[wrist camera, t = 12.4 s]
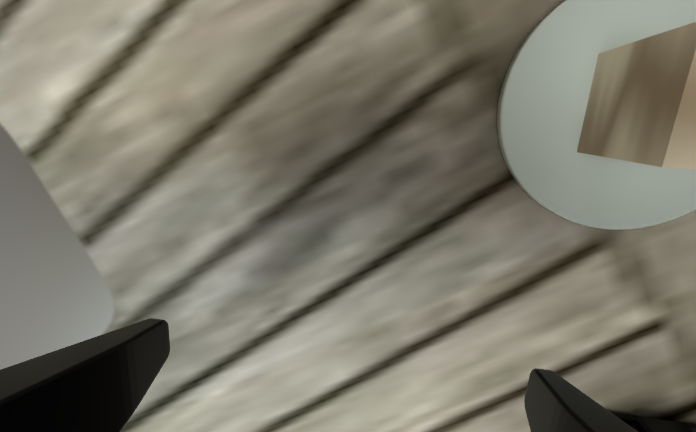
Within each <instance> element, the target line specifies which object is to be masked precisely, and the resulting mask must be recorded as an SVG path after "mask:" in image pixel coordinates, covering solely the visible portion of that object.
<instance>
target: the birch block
mask: <svg viewBox="0 0 696 432" xmlns="http://www.w3.org/2000/svg"><path fill="white" fill-rule="evenodd" d="M577 152H579V153H584V154H590V155H596V156H601V157H607V158H613V159H618V160H624V161H629V162H635V163H641V164H646V165H652V166H658V167H665V168H679V169H694V170H696V22H693V23H690V24H687V25H684V26H681V27H678V28H675V29H672V30H669V31H666V32H663V33H660V34H657V35H653V36H650V37H647V38H644V39H641V40H638V41H635V42H632V43H629V44H626V45H623V46H620V47H617V48H614V49H611V50H608V51H605V52H602V53H599V54H598V58H597V63H596V67H595V72H594V76H593V81H592V85H591V90H590V94H589V99H588V103H587V108H586V112H585V117H584V121H583V126H582V130H581V135H580V139H579V144H578V149H577Z"/></svg>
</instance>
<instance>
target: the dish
mask: <svg viewBox="0 0 696 432" xmlns="http://www.w3.org/2000/svg"><path fill="white" fill-rule="evenodd" d="M693 22H696V0H565V1H564V2H563V3H562V4H560V5H559V6H558V7H556V8H555V9H554V10H552V11H551V12H550V13H549V14H548V15H547V16H546V17H545V18H544V19H543V20H542V21H541V22H540V23H538V24H537V26H536V27H535V28H534V29H533V30H532V32H531V33H530V34H529V35H528V36H527V38H526V39H525V40H524V42H523V43H522V45H521V46H520V48H519V49H518V51H517V52H516V54H515V56H514V58H513V60H512V62H511V64H510V66H509V68H508V70H507V73H506V75H505V78H504V81H503V84H502V87H501V92H500V96H499V100H498V109H497V133H498V139H499V145H500V149H501V152H502V155H503V158H504V161H505V163H506V165H507V167H508V169H509V171H510V173H511V175H512V176H513V178H514V179H515V180H516V182H517V183H518V185H519V186H520V187H521V188H522V189H523V190H524V191H525V192H526V193H527V194H528V195H529V196H530V197H531V198H532V199H534V200H535V201H536V202H537V203H539V204H540V205H542V206H544V207H545V208H547V209H549V210H550V211H552V212H554V213H555V214H557V215H559V216H560V217H563V218H565V219H567V220H570V221H572V222H574V223H578V224H582V225H585V226H589V227H594V228H601V229H616V230H624V229H636V228H643V227H648V226H653V225H658V224H661V223H664V222H667V221H671V220H674V219H676V218H678V217H681V216H683V215H685V214H688V213H690V212H692V211H694V210H696V170H694V169H679V168H665V167H658V166H652V165H646V164H641V163H635V162H629V161H624V160H618V159H613V158H607V157H601V156H596V155H590V154H584V153H579V152H577V149H578V144H579V139H580V135H581V130H582V126H583V121H584V117H585V112H586V108H587V103H588V99H589V94H590V90H591V85H592V81H593V76H594V72H595V67H596V63H597V58H598V54H599V53H602V52H605V51H608V50H611V49H614V48H617V47H620V46H623V45H626V44H629V43H632V42H635V41H638V40H641V39H644V38H647V37H650V36H653V35H657V34H660V33H663V32H666V31H669V30H672V29H675V28H678V27H681V26H684V25H687V24H690V23H693Z"/></svg>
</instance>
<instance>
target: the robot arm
mask: <svg viewBox="0 0 696 432" xmlns="http://www.w3.org/2000/svg"><path fill="white" fill-rule="evenodd" d="M169 352H170V341H169V328H168V323H167V322H166V321H165V320H160V319H152V318H151V319H147V320H144V321H141V322H138V323H135V324H132V325H129V326H126V327H123V328H121V329H118V330H115V331H112V332H109V333H106V334H103V335H100V336H97V337H94V338H91V339H89V340H86V341H83V342H80V343H77V344H74V345H71V346H68V347H65V348H63V349H59V350H57V351H54V352H51V353H48V354H45V355H42V356H39V357H36V358H33V359H30V360H27V361H25V362H22V363H19V364H16V365H13V366H10V367H7V368H4V369H1V370H0V432H120V431H121V429H122V428H123V426H124V425H125V424H126V422H127V421H128V420H129V418H130V417H131V415H132V414H133V413H134V411H135V410H136V408H137V407H138V405H139V403H140V402H141V400H142V399H143V397H144V395H145V394H146V392H147V390H148V389H149V387H150V386H151V384H152V382H153V381H154V379H155V377H156V376H157V374H158V373H159V371H160V369H161V368H162V366H163V364H164V363H165V361H166V359H167V358H168V355H169ZM524 402H525V410H526V414H527V418H528V422H529V426H530V430H531V432H696V424H689V423H682V422H675V421H668V420H661V419H654V418H647V417H640V416H632V415H625V414H618V413H611V412H609V411H608V410H606V409H605V408H604V407H602V406H601V405H599V404H598V403H597V402H595V401H594V400H592V399H591V398H590V397H588V396H587V395H585V394H584V393H583V392H581V391H580V390H578V389H577V388H576V387H574V386H573V385H571V384H570V383H569V382H567V381H566V380H564V379H563V378H562V377H560V376H559V375H557V374H556V373H555V372H553V371H550V370H543V369H533V370H532V371H531V373H530V377H529V381H528V386H527V390H526V394H525V401H524Z"/></svg>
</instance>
